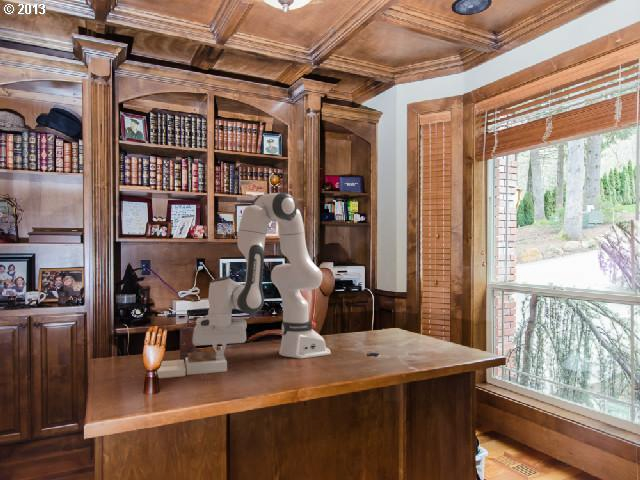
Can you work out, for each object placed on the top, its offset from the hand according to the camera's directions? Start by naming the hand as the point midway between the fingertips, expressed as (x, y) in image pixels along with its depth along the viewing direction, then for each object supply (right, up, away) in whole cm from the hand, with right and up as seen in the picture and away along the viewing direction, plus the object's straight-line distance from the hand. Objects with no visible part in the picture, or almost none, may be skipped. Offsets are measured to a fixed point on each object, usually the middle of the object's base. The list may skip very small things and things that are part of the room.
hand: (219, 355), depth 170 cm
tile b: (-9, -1, -3) cm, 9 cm away
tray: (-17, -5, -6) cm, 18 cm away
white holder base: (-5, -5, -2) cm, 7 cm away
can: (-15, -5, +9) cm, 18 cm away
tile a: (-4, -1, -1) cm, 4 cm away
